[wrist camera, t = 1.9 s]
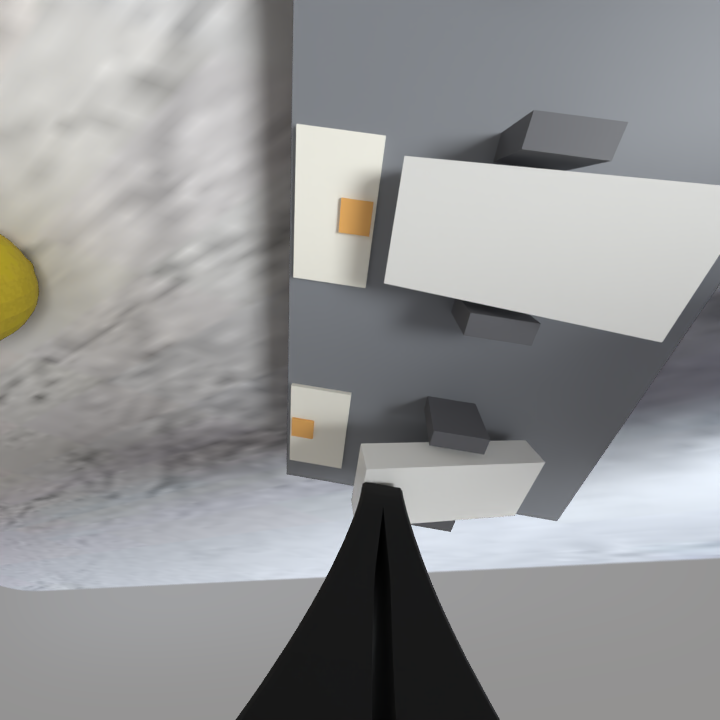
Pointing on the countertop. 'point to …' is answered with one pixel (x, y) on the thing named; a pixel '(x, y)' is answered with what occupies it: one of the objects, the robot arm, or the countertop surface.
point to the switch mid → (555, 242)
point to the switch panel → (481, 145)
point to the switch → (451, 478)
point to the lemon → (15, 288)
